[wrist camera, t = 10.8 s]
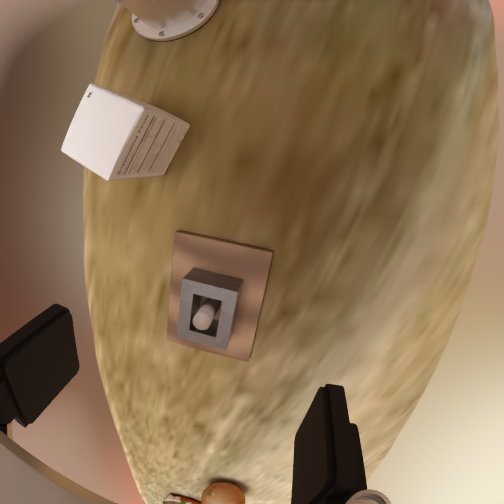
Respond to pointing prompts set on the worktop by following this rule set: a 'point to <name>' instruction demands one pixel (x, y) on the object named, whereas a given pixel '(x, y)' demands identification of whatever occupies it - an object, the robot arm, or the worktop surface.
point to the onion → (222, 494)
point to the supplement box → (122, 136)
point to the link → (215, 288)
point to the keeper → (223, 262)
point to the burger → (178, 500)
